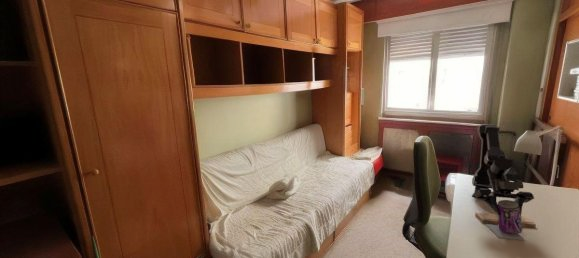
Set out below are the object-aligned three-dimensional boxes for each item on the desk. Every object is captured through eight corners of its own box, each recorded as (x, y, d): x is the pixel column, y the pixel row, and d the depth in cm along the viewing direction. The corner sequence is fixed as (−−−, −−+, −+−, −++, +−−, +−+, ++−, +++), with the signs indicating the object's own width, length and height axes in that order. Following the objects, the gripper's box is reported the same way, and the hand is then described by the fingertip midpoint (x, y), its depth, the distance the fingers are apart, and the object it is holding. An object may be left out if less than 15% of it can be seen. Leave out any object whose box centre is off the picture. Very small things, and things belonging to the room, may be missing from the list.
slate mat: (509, 226, 106) (509, 226, 106) (524, 240, 97) (524, 239, 97) (485, 224, 107) (485, 224, 107) (498, 237, 99) (498, 236, 99)
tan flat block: (525, 219, 111) (525, 216, 110) (535, 227, 105) (536, 223, 105) (475, 215, 115) (475, 212, 114) (482, 222, 109) (482, 219, 109)
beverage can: (513, 237, 97) (510, 209, 96) (494, 228, 104) (492, 202, 102) (526, 231, 99) (524, 204, 97) (507, 223, 106) (505, 197, 104)
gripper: (481, 170, 103) (491, 207, 95) (535, 173, 99) (551, 213, 90) (470, 180, 112) (479, 215, 104) (519, 184, 108) (532, 220, 99)
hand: (509, 216), depth 99 cm, fingers closed on beverage can, 7 cm apart
